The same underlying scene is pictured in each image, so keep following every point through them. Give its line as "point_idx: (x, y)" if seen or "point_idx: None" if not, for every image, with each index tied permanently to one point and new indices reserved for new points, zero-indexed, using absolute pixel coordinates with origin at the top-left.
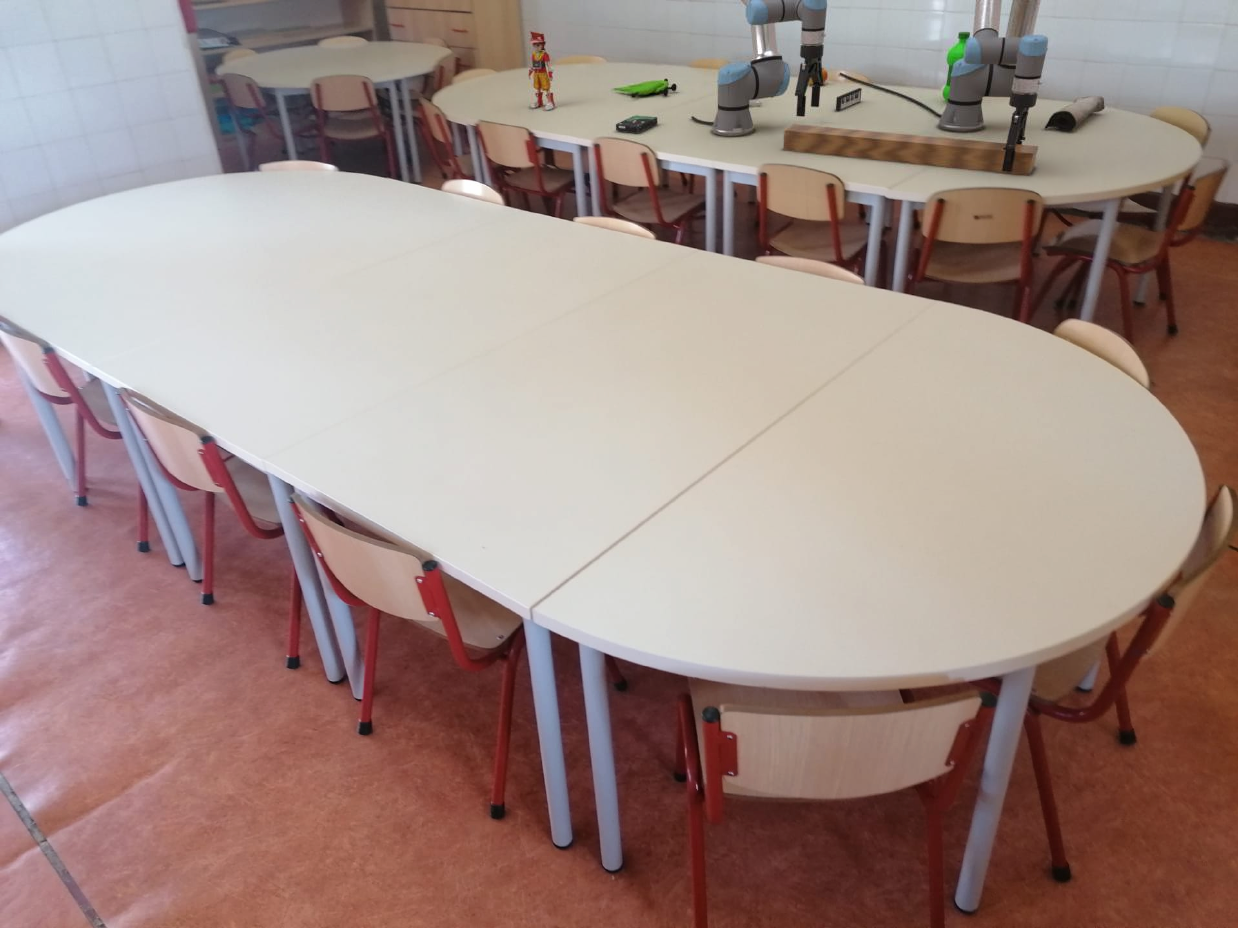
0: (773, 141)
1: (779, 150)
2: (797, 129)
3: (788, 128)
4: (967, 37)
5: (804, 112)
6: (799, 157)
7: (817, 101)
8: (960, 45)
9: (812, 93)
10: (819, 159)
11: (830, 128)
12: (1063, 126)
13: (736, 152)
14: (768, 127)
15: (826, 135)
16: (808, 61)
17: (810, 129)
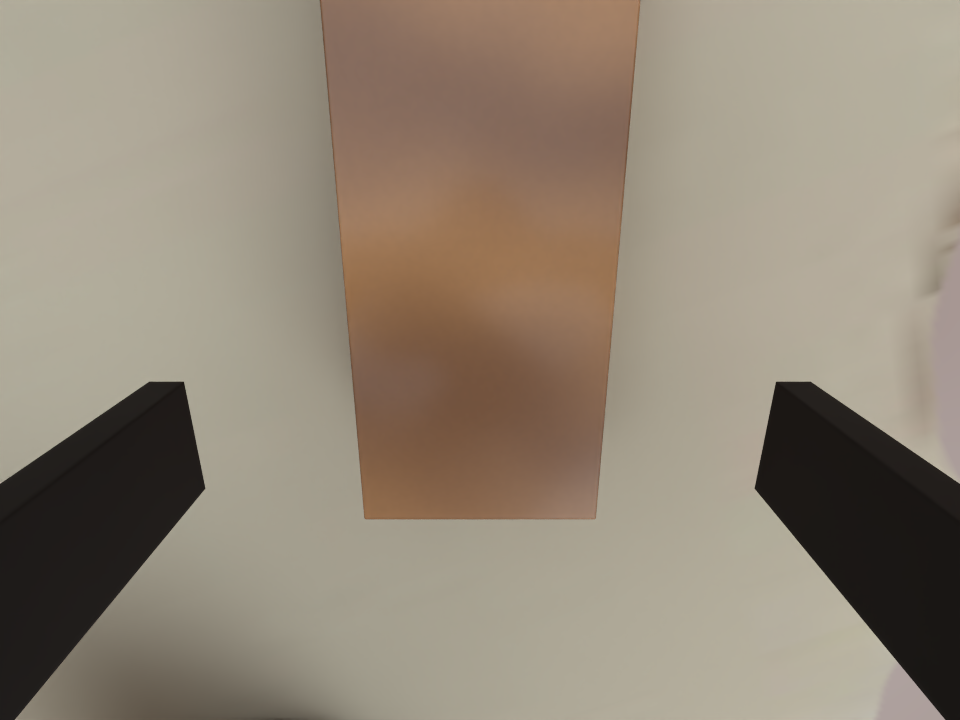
0: (388, 559)
1: None
2: (532, 426)
3: (524, 510)
4: None
5: (837, 409)
6: (725, 258)
7: (132, 443)
8: None
9: (70, 632)
10: (750, 72)
11: (371, 96)
12: None
13: (697, 657)
14: (105, 686)
15: (630, 51)
16: None
17: (492, 306)
